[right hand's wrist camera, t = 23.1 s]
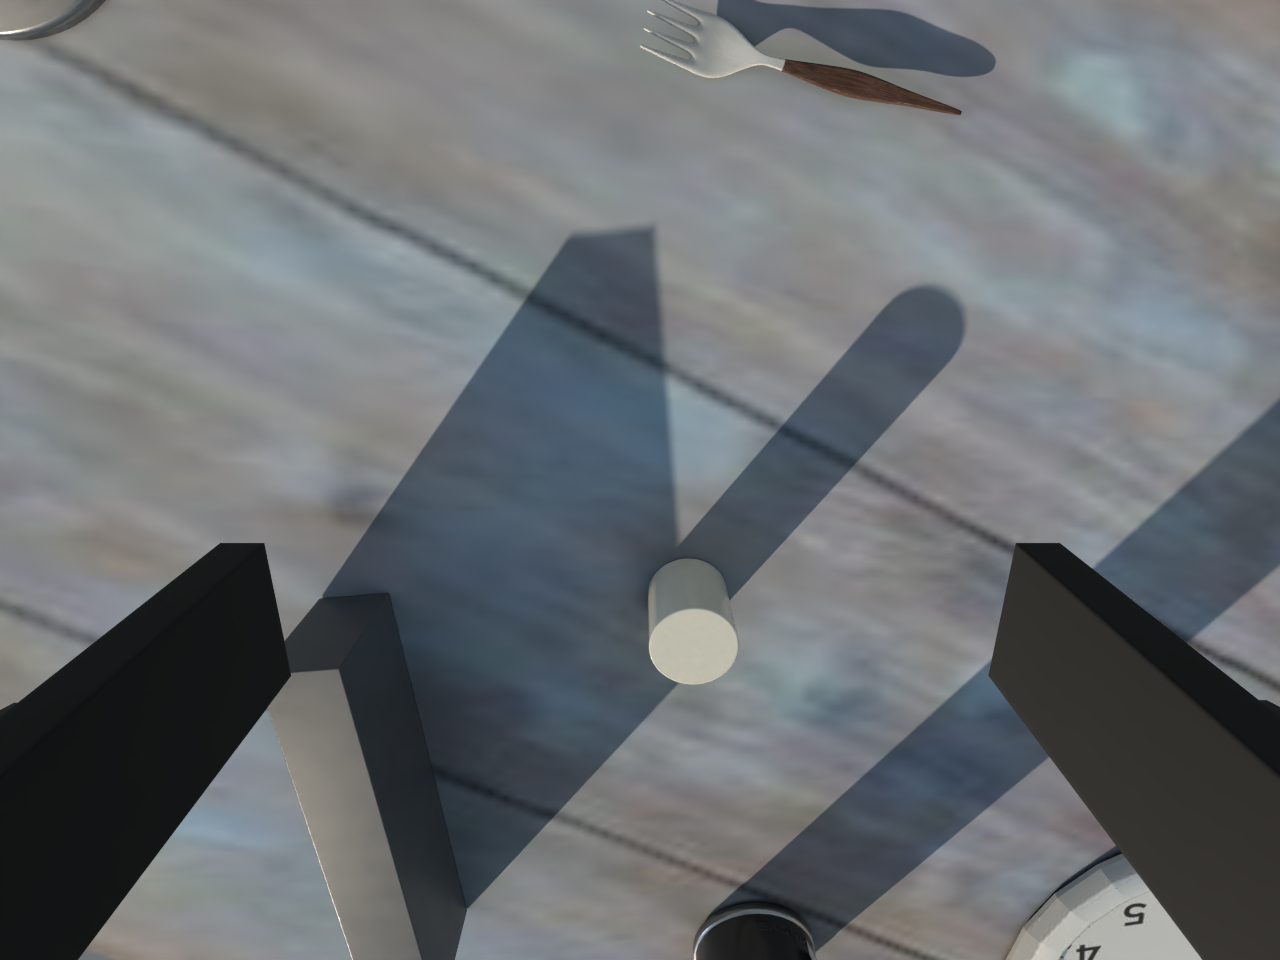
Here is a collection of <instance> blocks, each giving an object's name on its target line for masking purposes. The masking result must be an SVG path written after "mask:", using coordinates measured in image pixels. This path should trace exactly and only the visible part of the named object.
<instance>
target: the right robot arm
mask: <svg viewBox="0 0 1280 960" xmlns="http://www.w3.org/2000/svg"><path fill="white" fill-rule="evenodd" d="M104 1H105V0H0V39H1V40H31V39H37V38H43V37H48V36H51V35H54V34H57V33H60V32H63V31H65V30H67V29H69V28H71V27H73V26H75V25H77V24H78V23H80V22H81V21H83V20H85V19H86V18H87V17H88V16H90V15H91V14H92V13H93V12H94V11H96V10H97V9H98V8H99V7H100V6H101V5H102V4H103V2H104ZM290 677H291V671H290V667H289V662H288V657H287V652H286V647H285V642H284V637H283V633H282V628H281V623H280V618H279V613H278V608H277V603H276V598H275V594H274V589H273V584H272V579H271V574H270V569H269V564H268V560H267V555H266V550H265V545H264V543H220V544H219V545H217V546H216V547H215V548H214V549H212V550H211V551H210V552H208V553H207V554H206V555H205V556H203V557H202V558H201V559H200V560H198V561H197V562H196V563H195V564H193V565H192V566H191V567H189V568H188V569H187V570H186V571H184V572H183V573H182V574H181V575H179V576H178V577H177V578H176V579H174V580H173V581H172V582H170V583H169V584H168V585H167V586H165V587H164V588H163V589H162V590H160V591H159V592H158V593H156V594H155V595H154V596H153V597H151V598H150V599H149V600H148V601H146V602H145V603H144V604H143V605H141V606H140V607H139V608H137V609H136V610H135V611H134V612H132V613H131V614H130V615H129V616H127V617H126V618H125V619H124V620H122V621H121V622H120V623H118V624H117V625H116V626H115V627H113V628H112V629H111V630H110V631H108V632H107V633H106V634H105V635H103V636H102V637H101V638H99V639H98V640H97V641H96V642H94V643H93V644H92V645H91V646H89V647H88V648H87V649H86V650H84V651H83V652H82V653H80V654H79V655H78V656H77V657H75V658H74V659H73V660H72V661H70V662H69V663H68V664H67V665H65V666H64V667H63V668H61V669H60V670H59V671H58V672H56V673H55V674H54V675H53V676H51V677H50V678H49V679H48V680H46V681H45V682H44V683H42V684H41V685H40V686H39V687H37V688H36V689H35V690H34V691H32V692H31V693H30V694H28V695H27V696H26V697H25V698H23V699H22V700H21V701H20V702H18V703H13V704H11V705H9V706H7V707H5V708H3V709H1V710H0V960H78V959H79V957H80V956H81V955H82V953H83V952H84V951H85V949H86V948H87V947H88V945H89V944H90V943H91V942H92V940H93V939H94V938H95V936H96V935H97V934H98V932H99V931H100V930H101V928H102V927H103V926H104V924H105V923H106V922H107V920H108V919H109V918H110V916H111V915H112V914H113V912H114V911H115V910H116V908H117V907H118V906H119V904H120V903H121V902H122V900H123V899H124V898H125V896H126V895H127V894H128V892H129V891H130V890H131V888H132V887H133V886H134V884H135V883H136V882H137V880H138V879H139V878H140V876H141V875H142V874H143V872H144V871H145V870H146V868H147V867H148V866H149V864H150V863H151V862H152V860H153V859H154V858H155V856H156V855H157V854H158V852H159V851H160V850H161V848H162V847H163V846H164V844H165V843H166V842H167V840H168V839H169V838H170V836H171V835H172V834H173V832H174V831H175V830H176V828H177V827H178V826H179V824H180V823H181V822H182V820H183V819H184V818H185V816H186V815H187V814H188V812H189V811H190V810H191V809H192V807H193V806H194V805H195V803H196V802H197V801H198V799H199V798H200V797H201V795H202V794H203V793H204V791H205V790H206V789H207V787H208V786H209V785H210V783H211V782H212V781H213V779H214V778H215V777H216V775H217V774H218V773H219V771H220V770H221V769H222V767H223V766H224V765H225V763H226V762H227V761H228V759H229V758H230V757H231V755H232V754H233V753H234V751H235V750H236V749H237V747H238V746H239V745H240V743H241V742H242V741H243V739H244V738H245V737H246V735H247V734H248V733H249V731H250V730H251V729H252V727H253V726H254V725H255V723H256V722H257V721H258V719H259V718H260V717H261V715H262V714H263V713H264V711H265V710H266V709H267V707H268V706H269V705H270V703H271V702H272V701H273V699H274V698H275V697H276V695H277V694H278V693H279V691H280V690H281V689H282V687H283V686H284V685H285V683H286V682H287V681H288V679H289V678H290ZM989 677H990V678H991V679H992V681H993V682H994V683H995V685H996V686H997V687H998V689H999V690H1000V691H1001V693H1002V694H1003V695H1004V697H1005V698H1006V699H1007V701H1008V702H1009V703H1010V705H1011V706H1012V707H1013V709H1014V710H1015V711H1016V713H1017V714H1018V715H1019V717H1020V718H1021V719H1022V721H1023V722H1024V723H1025V725H1026V726H1027V727H1028V729H1029V730H1030V731H1031V733H1032V734H1033V735H1034V737H1035V738H1036V739H1037V741H1038V742H1039V743H1040V745H1041V746H1042V747H1043V749H1044V750H1045V751H1046V753H1047V754H1048V755H1049V757H1050V758H1051V759H1052V761H1053V762H1054V763H1055V765H1056V766H1057V767H1058V769H1059V770H1060V771H1061V773H1062V774H1063V775H1064V777H1065V778H1066V779H1067V781H1068V782H1069V783H1070V785H1071V786H1072V787H1073V789H1074V790H1075V791H1076V793H1077V794H1078V795H1079V797H1080V798H1081V799H1082V801H1083V802H1084V803H1085V805H1086V806H1087V807H1088V809H1089V810H1090V811H1091V812H1092V814H1093V815H1094V816H1095V818H1096V819H1097V820H1098V822H1099V823H1100V824H1101V826H1102V827H1103V828H1104V830H1105V831H1106V832H1107V834H1108V835H1109V836H1110V838H1111V839H1112V840H1113V842H1114V843H1115V844H1116V846H1117V847H1118V848H1119V850H1120V851H1121V852H1122V854H1123V855H1124V856H1125V858H1126V859H1127V860H1128V862H1129V863H1130V864H1131V866H1132V867H1133V868H1134V870H1135V871H1136V872H1137V874H1138V875H1139V876H1140V878H1141V879H1142V880H1143V882H1144V883H1145V884H1146V886H1147V887H1148V888H1149V890H1150V891H1151V892H1152V894H1153V895H1154V896H1155V898H1156V899H1157V900H1158V902H1159V903H1160V904H1161V906H1162V907H1163V908H1164V910H1165V911H1166V912H1167V914H1168V915H1169V916H1170V918H1171V919H1172V920H1173V922H1174V923H1175V924H1176V926H1177V927H1178V928H1179V930H1180V931H1181V932H1182V934H1183V935H1184V936H1185V938H1186V939H1187V940H1188V942H1189V943H1190V944H1191V945H1192V947H1193V948H1194V949H1195V951H1196V952H1197V953H1198V955H1199V956H1200V957H1201V959H1202V960H1280V707H1279V706H1277V705H1275V704H1273V703H1271V702H1269V701H1267V700H1258V699H1257V698H1255V697H1254V696H1253V695H1252V694H1250V693H1249V692H1248V691H1246V690H1245V689H1244V688H1243V687H1241V686H1240V685H1239V684H1238V683H1236V682H1235V681H1234V680H1232V679H1231V678H1230V677H1229V676H1227V675H1226V674H1225V673H1224V672H1222V671H1221V670H1220V669H1219V668H1217V667H1216V666H1215V665H1213V664H1212V663H1211V662H1210V661H1208V660H1207V659H1206V658H1205V657H1203V656H1202V655H1201V654H1200V653H1198V652H1197V651H1196V650H1194V649H1193V648H1192V647H1191V646H1189V645H1188V644H1187V643H1186V642H1184V641H1183V640H1182V639H1181V638H1179V637H1178V636H1177V635H1175V634H1174V633H1173V632H1172V631H1170V630H1169V629H1168V628H1167V627H1165V626H1164V625H1163V624H1162V623H1160V622H1159V621H1158V620H1156V619H1155V618H1154V617H1153V616H1151V615H1150V614H1149V613H1148V612H1146V611H1145V610H1144V609H1143V608H1141V607H1140V606H1139V605H1137V604H1136V603H1135V602H1134V601H1132V600H1131V599H1130V598H1129V597H1127V596H1126V595H1125V594H1124V593H1122V592H1121V591H1120V590H1118V589H1117V588H1116V587H1115V586H1113V585H1112V584H1111V583H1110V582H1108V581H1107V580H1106V579H1104V578H1103V577H1102V576H1101V575H1099V574H1098V573H1097V572H1096V571H1094V570H1093V569H1092V568H1091V567H1089V566H1088V565H1087V564H1085V563H1084V562H1083V561H1082V560H1080V559H1079V558H1078V557H1077V556H1075V555H1074V554H1073V553H1072V552H1070V551H1069V550H1068V549H1066V548H1065V547H1064V546H1063V545H1061V544H1060V543H1016V545H1015V550H1014V555H1013V560H1012V564H1011V569H1010V574H1009V579H1008V584H1007V589H1006V594H1005V598H1004V603H1003V608H1002V613H1001V618H1000V623H999V628H998V633H997V637H996V642H995V647H994V652H993V657H992V662H991V667H990V671H989Z"/></svg>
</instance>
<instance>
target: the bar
mask: <svg viewBox="0 0 1280 960" xmlns="http://www.w3.org/2000/svg"><path fill="white" fill-rule="evenodd" d="M284 642H285V647H286V652H287V657H288V662H289V667H290V671H291V677H290V678H289V679H288V681H287V682H286V683H285V685H284V686H283V687H282V689H281V690H280V691H279V693H278V694H277V695H276V697H275V698H274V699H273V701H272V702H271V703H270V705H269V706H268V710H269V713H270V716H271V719H272V722H273V725H274V728H275V731H276V734H277V737H278V740H279V743H280V746H281V749H282V752H283V755H284V758H285V761H286V764H287V767H288V770H289V773H290V776H291V779H292V781H293V784H294V787H295V790H296V793H297V796H298V799H299V802H300V805H301V808H302V811H303V814H304V817H305V820H306V823H307V826H308V829H309V832H310V835H311V838H312V841H313V844H314V847H315V850H316V853H317V856H318V859H319V862H320V865H321V868H322V871H323V874H324V877H325V880H326V883H327V886H328V889H329V892H330V895H331V898H332V901H333V904H334V906H335V909H336V912H337V915H338V918H339V921H340V924H341V927H342V930H343V933H344V936H345V939H346V942H347V945H348V948H349V951H350V954H351V957H352V960H455V956H456V952H457V948H458V944H459V940H460V936H461V932H462V928H463V924H464V920H465V916H466V912H467V909H466V905H465V901H464V897H463V893H462V889H461V885H460V881H459V877H458V873H457V869H456V865H455V861H454V856H453V852H452V848H451V844H450V840H449V836H448V832H447V828H446V824H445V820H444V816H443V812H442V808H441V804H440V800H439V796H438V792H437V787H436V783H435V779H434V775H433V771H432V767H431V763H430V759H429V755H428V751H427V747H426V743H425V739H424V735H423V731H422V727H421V723H420V718H419V714H418V710H417V706H416V702H415V698H414V694H413V690H412V686H411V682H410V678H409V674H408V670H407V666H406V662H405V658H404V653H403V649H402V645H401V641H400V637H399V633H398V629H397V625H396V621H395V617H394V613H393V609H392V605H391V601H390V597H389V593H384V594H372V595H360V596H348V597H336V598H324V599H319V600H318V601H317V603H316V604H315V605H314V606H313V607H312V609H311V610H310V611H309V612H308V614H307V615H306V616H305V617H304V618H303V620H302V621H301V622H300V623H299V624H298V626H297V627H296V628H295V629H294V630H293V632H292V633H291V634H290V635H289V637H288V638H287V639H286V640H285V641H284Z"/></svg>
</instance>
